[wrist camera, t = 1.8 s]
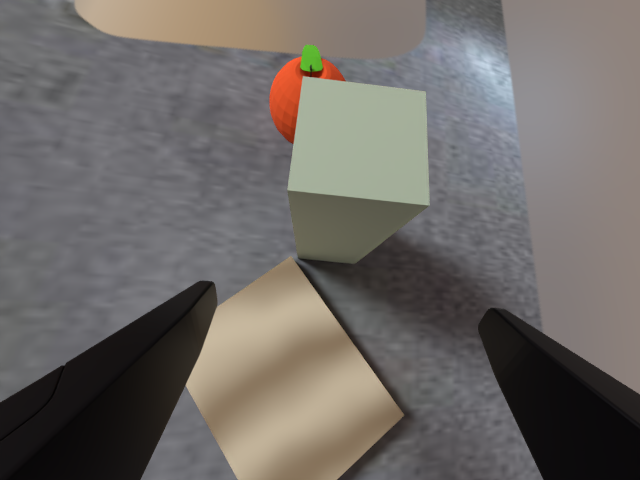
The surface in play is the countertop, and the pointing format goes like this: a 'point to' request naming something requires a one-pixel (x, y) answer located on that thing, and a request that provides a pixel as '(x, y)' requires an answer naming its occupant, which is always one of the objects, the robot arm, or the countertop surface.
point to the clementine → (297, 87)
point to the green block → (356, 167)
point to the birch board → (287, 384)
